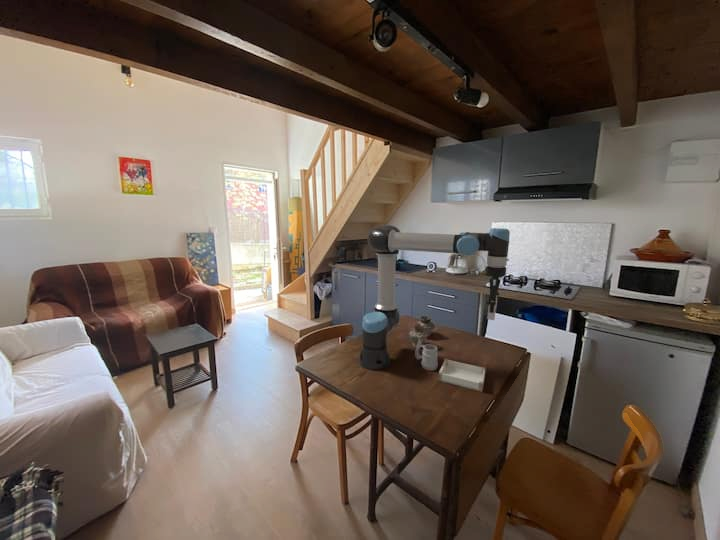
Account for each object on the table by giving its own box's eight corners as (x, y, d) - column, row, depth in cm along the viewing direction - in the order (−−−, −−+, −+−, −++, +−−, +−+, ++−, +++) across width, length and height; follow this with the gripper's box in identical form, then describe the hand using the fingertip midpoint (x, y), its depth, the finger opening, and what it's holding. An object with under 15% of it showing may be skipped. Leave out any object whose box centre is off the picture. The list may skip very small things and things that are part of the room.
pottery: (405, 346, 157) (406, 325, 155) (417, 329, 179) (418, 311, 177) (426, 351, 153) (427, 329, 150) (436, 333, 175) (437, 314, 172)
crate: (438, 380, 126) (438, 372, 125) (444, 365, 138) (445, 358, 137) (482, 391, 118) (482, 383, 118) (484, 375, 130) (485, 367, 129)
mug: (433, 372, 132) (434, 348, 130) (410, 363, 140) (411, 340, 137) (440, 366, 138) (442, 342, 135) (418, 357, 145) (419, 335, 143)
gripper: (505, 272, 109) (500, 325, 113) (507, 261, 131) (502, 307, 135) (484, 270, 113) (479, 322, 117) (488, 260, 134) (484, 304, 139)
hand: (491, 314), depth 126 cm, fingers open, 13 cm apart
